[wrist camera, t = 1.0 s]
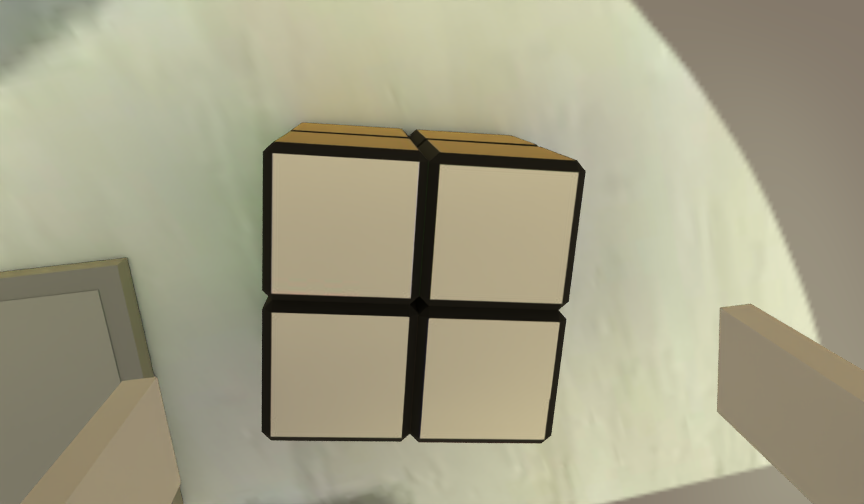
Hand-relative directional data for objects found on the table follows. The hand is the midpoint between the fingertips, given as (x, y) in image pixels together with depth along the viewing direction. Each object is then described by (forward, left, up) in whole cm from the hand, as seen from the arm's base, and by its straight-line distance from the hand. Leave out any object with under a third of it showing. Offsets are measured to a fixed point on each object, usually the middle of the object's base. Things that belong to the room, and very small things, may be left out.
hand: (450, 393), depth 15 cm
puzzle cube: (0, 0, -16) cm, 16 cm away
